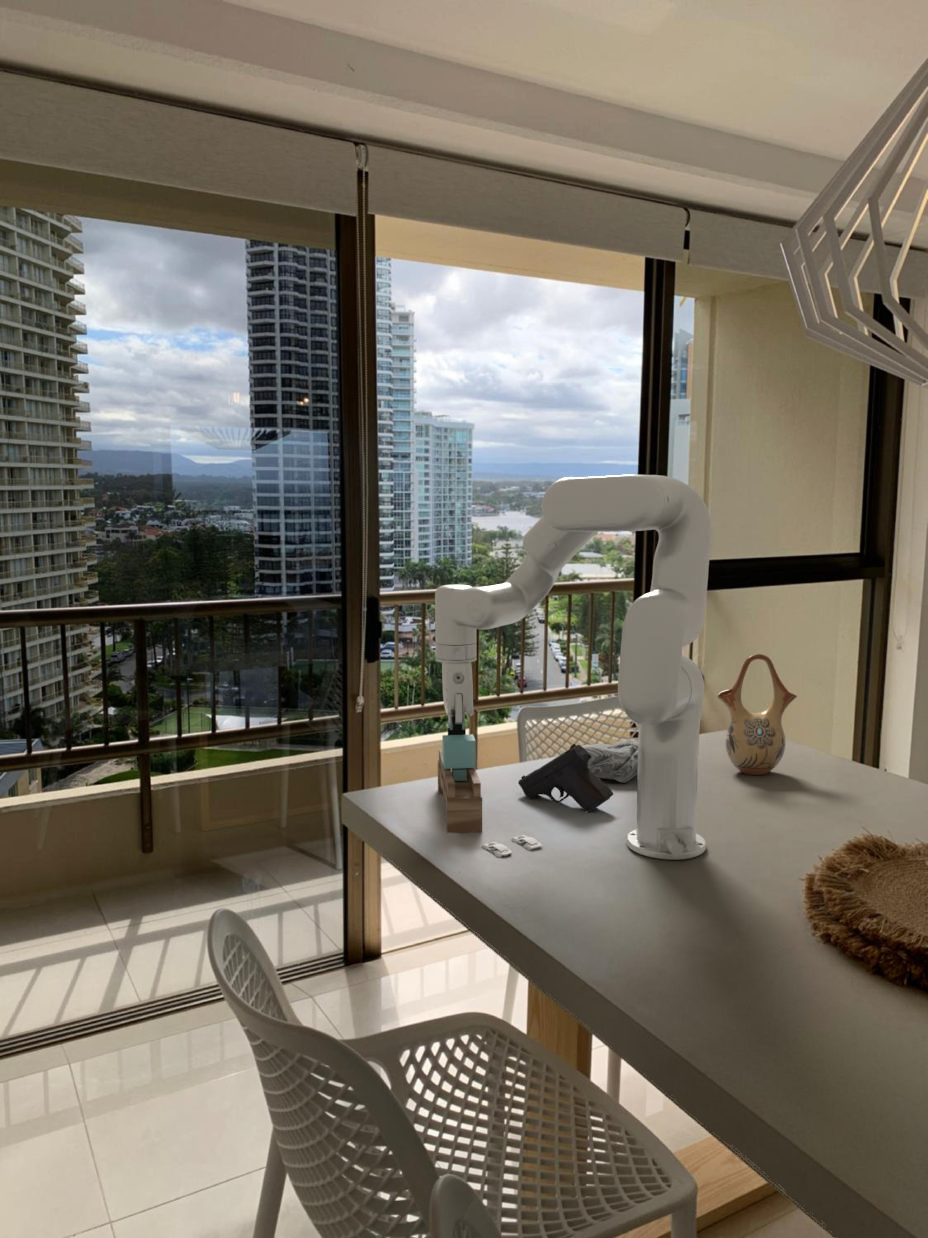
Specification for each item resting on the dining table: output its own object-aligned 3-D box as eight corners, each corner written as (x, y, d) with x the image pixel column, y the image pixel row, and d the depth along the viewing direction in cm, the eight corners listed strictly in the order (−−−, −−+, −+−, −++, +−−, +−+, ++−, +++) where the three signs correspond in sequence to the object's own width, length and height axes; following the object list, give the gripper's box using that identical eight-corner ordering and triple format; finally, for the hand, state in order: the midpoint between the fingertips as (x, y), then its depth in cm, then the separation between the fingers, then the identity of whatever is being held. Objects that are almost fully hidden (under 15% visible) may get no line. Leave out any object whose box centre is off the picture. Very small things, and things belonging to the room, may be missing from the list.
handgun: (606, 801, 164) (573, 743, 167) (544, 836, 173) (513, 780, 176) (615, 796, 167) (583, 739, 170) (554, 831, 176) (524, 776, 179)
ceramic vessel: (785, 766, 195) (789, 649, 192) (801, 778, 186) (806, 656, 183) (708, 767, 195) (712, 650, 192) (721, 779, 186) (725, 657, 183)
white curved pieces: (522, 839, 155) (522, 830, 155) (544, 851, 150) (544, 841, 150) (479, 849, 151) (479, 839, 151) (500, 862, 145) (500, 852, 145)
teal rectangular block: (475, 781, 165) (475, 740, 164) (444, 782, 164) (444, 741, 163) (473, 774, 169) (472, 734, 168) (442, 775, 168) (442, 735, 168)
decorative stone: (559, 756, 192) (579, 713, 191) (607, 770, 199) (627, 729, 198) (598, 787, 179) (620, 741, 178) (648, 801, 186) (669, 756, 185)
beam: (483, 831, 157) (483, 784, 156) (446, 833, 157) (446, 785, 156) (469, 788, 181) (468, 747, 180) (437, 789, 180) (436, 748, 179)
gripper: (480, 658, 161) (481, 760, 164) (472, 645, 176) (472, 739, 178) (438, 659, 161) (439, 761, 163) (433, 646, 175) (434, 740, 178)
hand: (456, 749), depth 171 cm, fingers closed
